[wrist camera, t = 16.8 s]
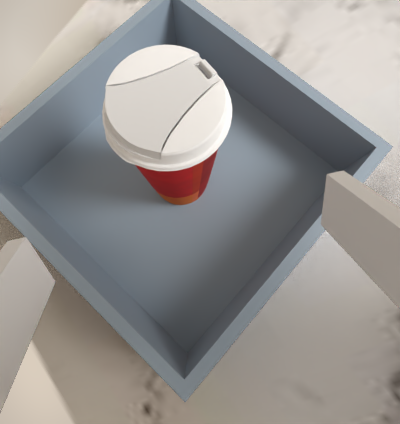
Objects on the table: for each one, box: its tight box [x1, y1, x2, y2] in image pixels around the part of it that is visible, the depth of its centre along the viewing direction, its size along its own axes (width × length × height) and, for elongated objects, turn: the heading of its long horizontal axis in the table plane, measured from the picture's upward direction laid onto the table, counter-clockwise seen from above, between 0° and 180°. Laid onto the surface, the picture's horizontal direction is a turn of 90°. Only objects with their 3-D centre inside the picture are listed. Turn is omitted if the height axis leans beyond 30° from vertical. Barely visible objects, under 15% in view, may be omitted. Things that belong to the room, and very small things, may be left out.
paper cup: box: [102, 45, 232, 205], centre depth 21 cm, size 8×8×14 cm
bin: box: [0, 0, 393, 402], centre depth 26 cm, size 26×26×7 cm
